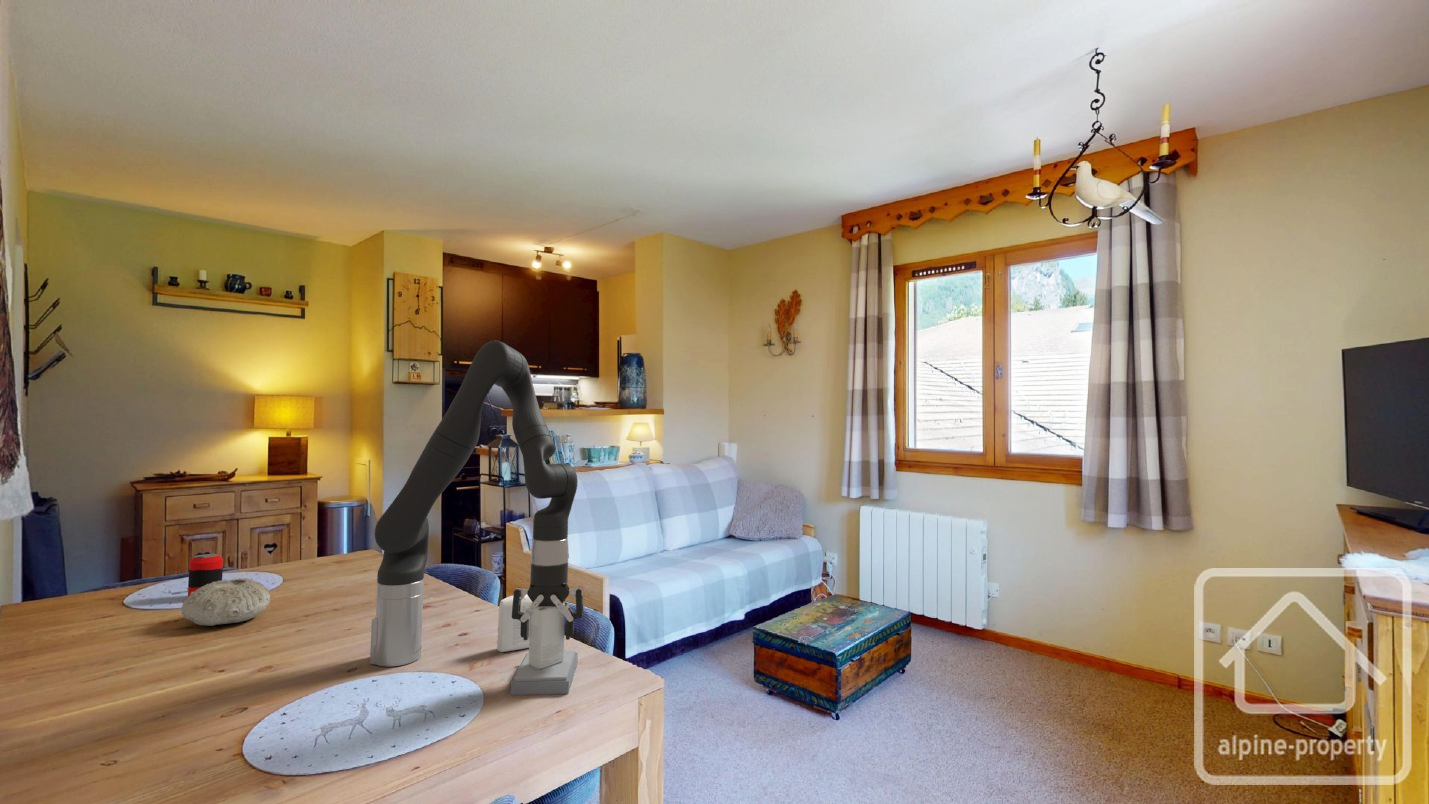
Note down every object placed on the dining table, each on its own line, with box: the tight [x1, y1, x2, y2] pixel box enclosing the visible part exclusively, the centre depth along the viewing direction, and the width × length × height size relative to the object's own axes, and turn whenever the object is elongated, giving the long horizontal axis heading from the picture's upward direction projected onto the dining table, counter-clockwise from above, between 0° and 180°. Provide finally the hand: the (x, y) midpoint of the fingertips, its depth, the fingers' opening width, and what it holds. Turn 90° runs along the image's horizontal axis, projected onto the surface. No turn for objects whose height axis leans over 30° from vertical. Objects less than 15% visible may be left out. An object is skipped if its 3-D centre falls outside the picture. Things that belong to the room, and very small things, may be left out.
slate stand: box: [510, 650, 579, 696], centre depth 126 cm, size 11×15×3 cm
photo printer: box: [496, 595, 533, 653], centre depth 144 cm, size 10×4×12 cm, turn 123°
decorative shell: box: [181, 577, 271, 627], centre depth 157 cm, size 18×18×10 cm
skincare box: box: [528, 603, 566, 669], centre depth 127 cm, size 6×4×12 cm
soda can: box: [187, 553, 224, 598], centre depth 177 cm, size 8×8×12 cm
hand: (547, 638), depth 127 cm, fingers open, 8 cm apart
